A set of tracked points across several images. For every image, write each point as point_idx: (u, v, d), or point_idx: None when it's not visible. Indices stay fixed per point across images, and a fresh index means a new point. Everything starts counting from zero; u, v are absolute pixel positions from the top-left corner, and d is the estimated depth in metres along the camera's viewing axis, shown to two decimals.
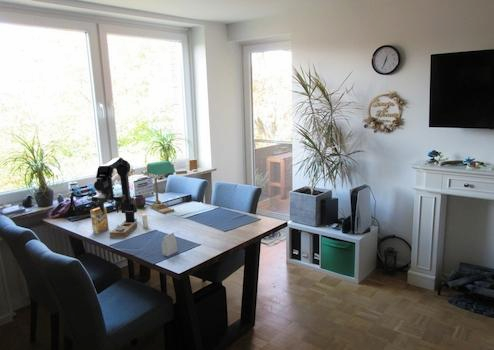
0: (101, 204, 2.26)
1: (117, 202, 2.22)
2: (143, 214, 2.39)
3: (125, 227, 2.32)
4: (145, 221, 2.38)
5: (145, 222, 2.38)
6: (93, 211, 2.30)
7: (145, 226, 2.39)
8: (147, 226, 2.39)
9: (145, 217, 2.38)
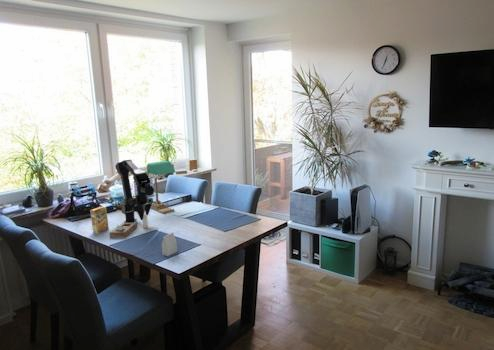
0: (146, 207, 2.43)
1: None
2: None
3: (125, 227, 2.32)
4: (145, 221, 2.38)
5: (145, 222, 2.38)
6: (93, 211, 2.30)
7: (145, 226, 2.39)
8: (147, 226, 2.39)
9: (145, 217, 2.38)
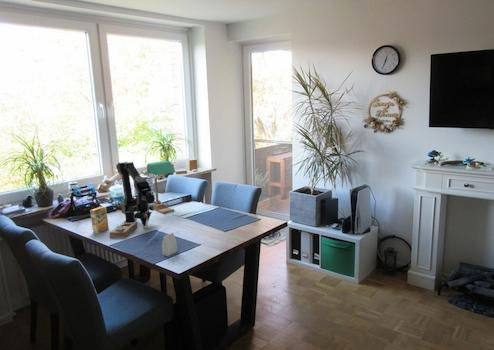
0: None
1: None
2: None
3: (125, 227, 2.32)
4: None
5: None
6: (93, 211, 2.30)
7: (145, 226, 2.39)
8: (147, 226, 2.39)
9: None
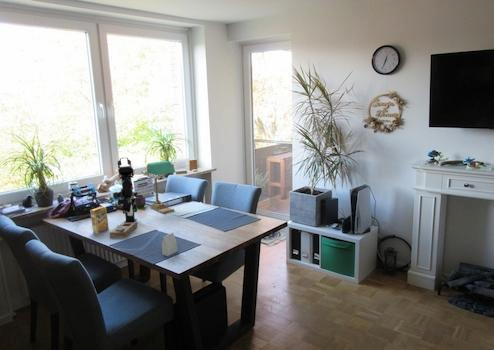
0: None
1: None
2: None
3: (125, 227, 2.32)
4: None
5: None
6: (93, 211, 2.30)
7: (129, 212, 2.34)
8: (132, 212, 2.35)
9: None
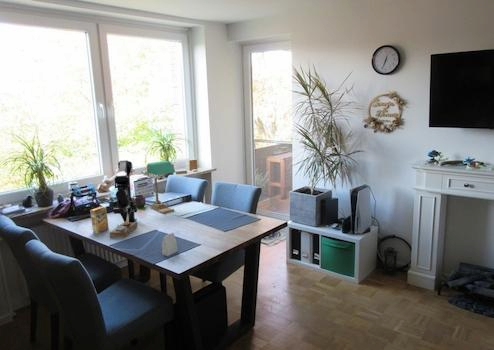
0: None
1: None
2: None
3: (125, 227, 2.32)
4: None
5: None
6: (93, 211, 2.30)
7: (126, 221, 2.34)
8: (128, 221, 2.35)
9: None
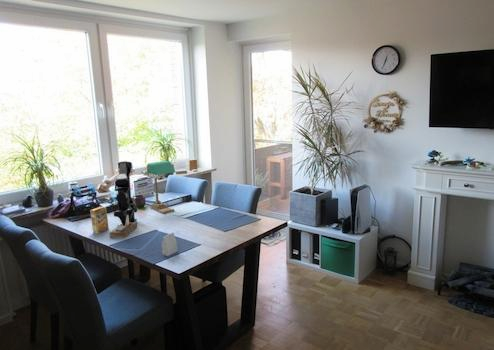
0: (127, 213, 2.39)
1: None
2: None
3: (125, 227, 2.32)
4: (126, 222, 2.35)
5: (127, 223, 2.35)
6: (93, 211, 2.30)
7: None
8: None
9: (126, 218, 2.34)
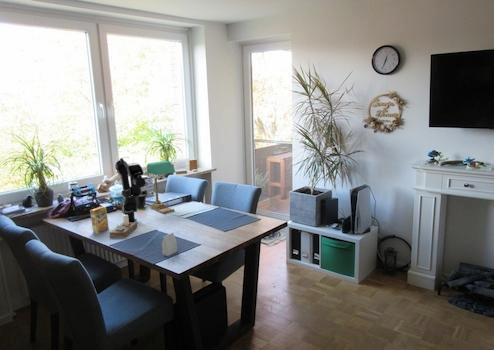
0: (140, 199, 2.41)
1: None
2: (124, 215, 2.36)
3: (125, 227, 2.32)
4: (126, 222, 2.35)
5: (127, 223, 2.35)
6: (93, 211, 2.30)
7: None
8: None
9: (126, 218, 2.34)
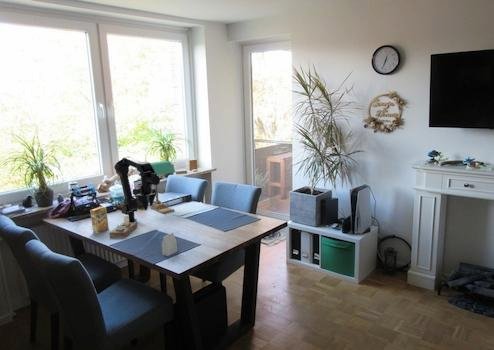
0: (150, 197, 2.44)
1: None
2: (125, 215, 2.36)
3: (125, 227, 2.32)
4: (126, 222, 2.35)
5: (127, 223, 2.35)
6: (93, 211, 2.30)
7: None
8: None
9: (127, 218, 2.34)
